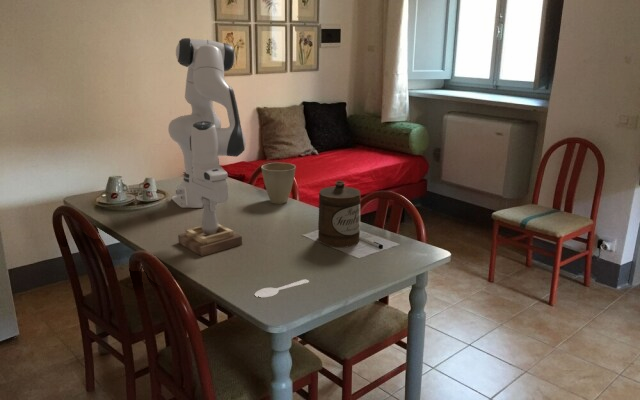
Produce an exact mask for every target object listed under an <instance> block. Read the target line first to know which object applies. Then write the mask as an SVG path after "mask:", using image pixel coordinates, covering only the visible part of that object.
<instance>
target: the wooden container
mask: <svg viewBox="0 0 640 400" xmlns="http://www.w3.org/2000/svg"><path fill="white" fill-rule="evenodd" d="M318 194H319V195H318V199H319V202H318V228H317V229H318V232H317V234H318V237H317V239H318V241H319V242H320V243H321V244H323V245H325V246H327V247H333V248H346V247H347V246H348V247H352V246H355V245H356V244H358V243H359V241H360V234H361V233H360V230H361V191H360V189H357V188H355V187H350V186H345V182H344V181H343V180H337V181H335V182H334V186H327V187H322V188H321V189H320V190H319V193H318Z"/></svg>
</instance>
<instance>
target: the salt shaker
mask: <svg viewBox="0 0 640 400" xmlns="http://www.w3.org/2000/svg"><path fill="white" fill-rule="evenodd" d="M210 203H211V202H210V200H209V199H207V198H205V197H204V198H203V204H204V208H203V212H202V218H201V219H202V220H201V225H200V226H201V228H202V230H203V232H204V234H206V235H213V234H216V232H217V229H218V224H219V222H218V219H217V214H216V210H215V211H210V210H209V206H210Z"/></svg>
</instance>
